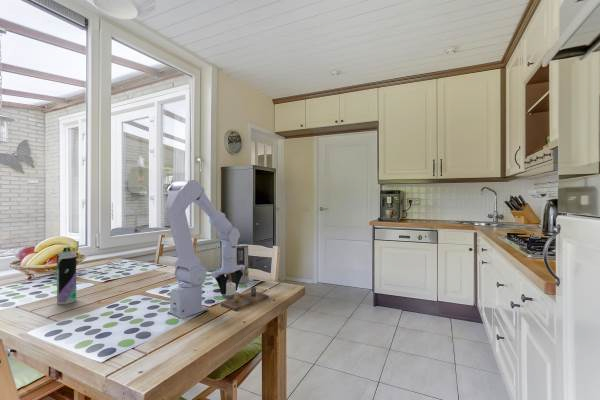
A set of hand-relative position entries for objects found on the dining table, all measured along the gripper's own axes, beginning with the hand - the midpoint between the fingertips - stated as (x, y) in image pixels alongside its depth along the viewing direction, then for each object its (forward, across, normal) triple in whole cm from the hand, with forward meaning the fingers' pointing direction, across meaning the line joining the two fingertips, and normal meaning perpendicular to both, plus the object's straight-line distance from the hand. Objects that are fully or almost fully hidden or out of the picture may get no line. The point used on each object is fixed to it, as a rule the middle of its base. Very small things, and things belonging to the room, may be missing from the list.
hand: (229, 292), depth 108 cm
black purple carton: (+2, +40, -43) cm, 59 cm away
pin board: (+2, 0, +10) cm, 10 cm away
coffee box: (+2, -15, -13) cm, 20 cm away
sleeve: (+2, 0, 0) cm, 2 cm away
